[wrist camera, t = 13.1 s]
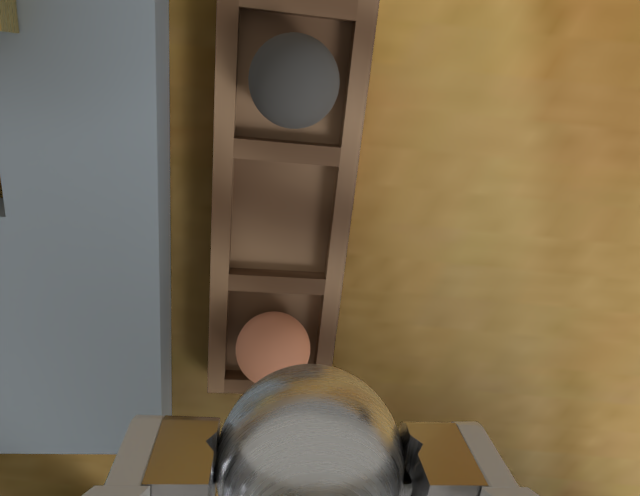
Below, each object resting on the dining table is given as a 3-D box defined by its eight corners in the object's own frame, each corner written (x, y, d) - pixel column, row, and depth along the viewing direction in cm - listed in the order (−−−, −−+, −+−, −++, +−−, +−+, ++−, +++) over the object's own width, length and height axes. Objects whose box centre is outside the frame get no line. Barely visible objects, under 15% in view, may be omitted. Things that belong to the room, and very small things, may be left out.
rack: (324, 376, 26) (328, 395, 24) (211, 373, 25) (207, 392, 23) (371, 4, 19) (379, -1, 18) (221, -15, 19) (217, -22, 17)
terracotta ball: (304, 360, 24) (309, 404, 21) (236, 358, 24) (231, 402, 21) (310, 300, 23) (317, 337, 20) (239, 296, 23) (234, 334, 20)
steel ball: (372, 464, 11) (409, 620, 8) (223, 461, 11) (198, 623, 8) (394, 334, 10) (447, 456, 7) (228, 326, 10) (203, 449, 6)
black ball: (328, 127, 20) (339, 138, 17) (248, 119, 20) (244, 130, 17) (338, 40, 19) (351, 35, 16) (252, 30, 19) (248, 23, 16)
